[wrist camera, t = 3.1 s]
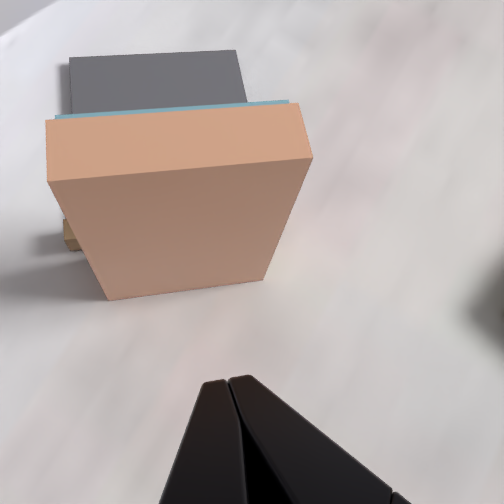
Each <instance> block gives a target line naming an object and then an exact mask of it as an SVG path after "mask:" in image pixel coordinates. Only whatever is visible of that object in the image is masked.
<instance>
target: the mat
mask: <svg viewBox="0 0 504 504" xmlns="http://www.w3.org/2000/svg"><path fill="white" fill-rule="evenodd" d="M69 64H70V83H71V101H72V114H82V113H97V112H112V111H127V110H142V109H157V108H173V107H188V106H203V105H218V104H233V103H247V99H246V94H245V90H244V85H243V81H242V76H241V72H240V67H239V63H238V58H237V54H236V50H221V51H199V52H178V53H156V54H134V55H113V56H91V57H69Z"/></svg>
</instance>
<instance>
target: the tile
mask: <svg viewBox="0 0 504 504" xmlns="http://www.w3.org/2000/svg"><path fill="white" fill-rule="evenodd" d="M45 122H46V159H47V182H48V184H49V186H50V188H51V190H52V192H53V194H54V196H55V198H56V200H57V202H58V204H59V206H60V207H61V209H62V211H63V213H64V215H65V217H66V219H67V221H68V223H69V225H70V227H71V229H72V231H73V233H74V235H75V237H76V239H77V241H78V243H79V244H80V246H81V248H82V250H83V252H84V254H85V256H86V258H87V260H88V262H89V264H90V266H91V268H92V270H93V272H94V274H95V276H96V278H97V280H98V281H99V283H100V285H101V287H102V289H103V291H104V293H105V295H106V297H107V299H108V301H112V300H120V299H127V298H134V297H142V296H149V295H157V294H164V293H171V292H179V291H186V290H193V289H201V288H208V287H216V286H223V285H230V284H238V283H245V282H253V281H260V280H263V279H264V276H265V274H266V271H267V269H268V266H269V264H270V261H271V259H272V257H273V254H274V252H275V249H276V247H277V244H278V242H279V240H280V237H281V235H282V232H283V230H284V227H285V225H286V223H287V220H288V218H289V215H290V213H291V210H292V208H293V205H294V203H295V201H296V198H297V196H298V193H299V191H300V188H301V186H302V184H303V181H304V179H305V176H306V174H307V171H308V169H309V167H310V164H311V162H312V159H313V155H312V151H311V147H310V144H309V140H308V136H307V133H306V129H305V125H304V122H303V118H302V114H301V111H300V107H299V103H289V100H278V101H263V102H248V103H233V104H218V105H203V106H188V107H173V108H157V109H142V110H127V111H112V112H97V113H82V114H67V115H55V119H53V120H45Z"/></svg>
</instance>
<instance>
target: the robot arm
mask: <svg viewBox="0 0 504 504" xmlns="http://www.w3.org/2000/svg"><path fill="white" fill-rule="evenodd" d="M392 493H393V494H392ZM159 504H411V503H410V502H409V501H407V500H406V499H405V498H404V497H403V496H401V495H400V494H399V493H398V492H393V490H392V488H391V487H390V486H389V485H387V484H386V483H385V482H384V481H382V480H381V479H380V478H379V477H377V476H376V475H375V474H374V473H372V472H371V471H370V470H369V469H367V468H366V467H365V466H364V465H362V464H361V463H360V462H359V461H357V460H356V459H355V458H354V457H352V456H351V455H350V454H349V453H348V452H346V451H345V450H344V449H343V448H341V447H340V446H339V445H338V444H336V443H335V442H334V441H333V440H331V439H330V438H329V437H328V436H326V435H325V434H324V433H323V432H321V431H320V430H319V429H318V428H316V427H315V426H314V425H313V424H312V423H310V422H309V421H308V420H307V419H305V418H304V417H303V416H302V415H300V414H299V413H298V412H297V411H295V410H294V409H293V408H292V407H290V406H289V405H288V404H287V403H285V402H284V401H283V400H282V399H280V398H279V397H278V396H277V395H276V394H274V393H273V392H272V391H271V390H269V389H268V388H267V387H266V386H264V385H263V384H262V383H261V382H259V381H258V380H257V379H256V378H254V377H253V376H251V375H243V376H238V377H232V378H230V379H228V382H227V381H226V380H224V379H221V380H215V381H209V382H205V383H203V385H202V386H201V389H200V392H199V395H198V397H197V400H196V403H195V405H194V408H193V411H192V414H191V416H190V419H189V422H188V425H187V427H186V430H185V433H184V436H183V438H182V441H181V444H180V447H179V449H178V452H177V455H176V458H175V460H174V463H173V466H172V468H171V471H170V474H169V477H168V479H167V482H166V485H165V488H164V490H163V493H162V496H161V499H160V501H159Z"/></svg>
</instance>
